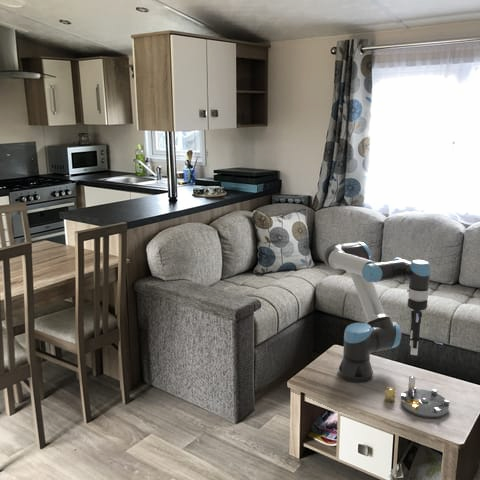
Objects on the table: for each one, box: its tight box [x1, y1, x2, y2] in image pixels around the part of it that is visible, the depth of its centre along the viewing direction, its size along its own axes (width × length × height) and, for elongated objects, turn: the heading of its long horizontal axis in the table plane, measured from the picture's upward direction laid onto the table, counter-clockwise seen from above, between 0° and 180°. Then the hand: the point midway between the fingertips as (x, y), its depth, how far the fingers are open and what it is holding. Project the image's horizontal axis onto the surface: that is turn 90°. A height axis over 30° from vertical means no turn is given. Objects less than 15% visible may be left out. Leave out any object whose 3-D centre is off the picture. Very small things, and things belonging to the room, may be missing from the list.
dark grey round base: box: [400, 375, 450, 419], centre depth 201 cm, size 18×18×10 cm
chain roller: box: [384, 386, 396, 404], centre depth 207 cm, size 4×4×5 cm
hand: (413, 349), depth 209 cm, fingers open, 8 cm apart
